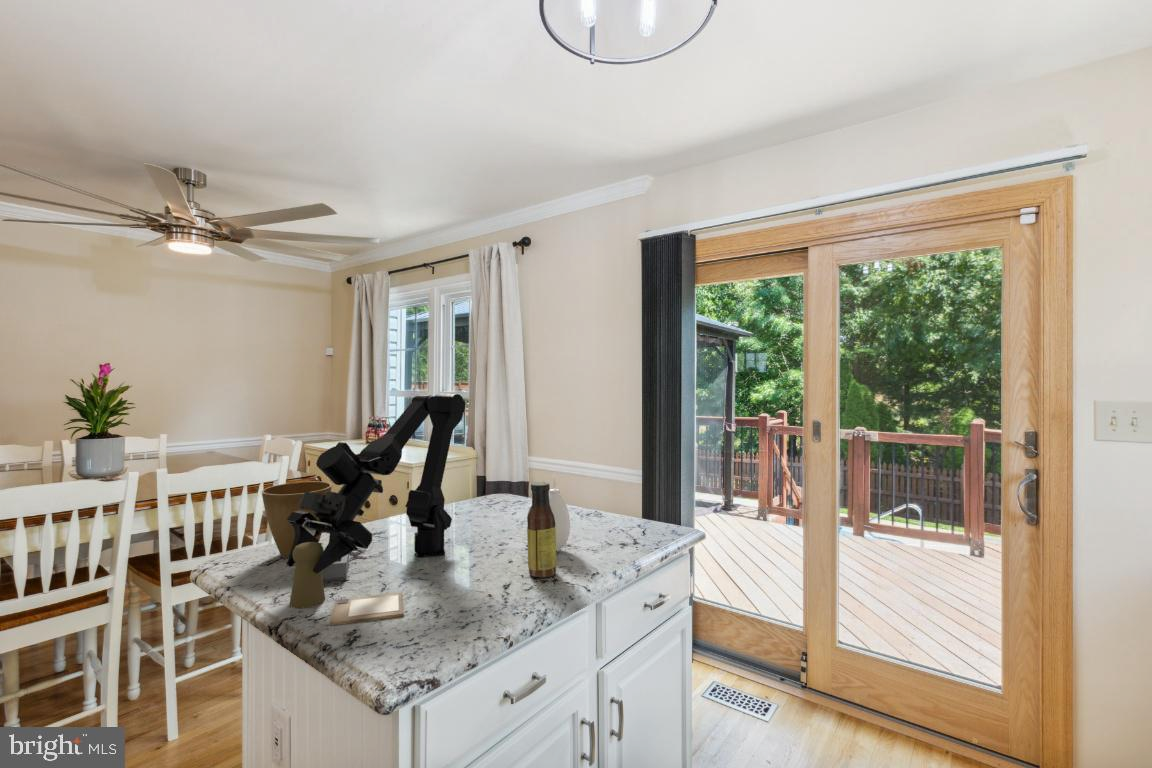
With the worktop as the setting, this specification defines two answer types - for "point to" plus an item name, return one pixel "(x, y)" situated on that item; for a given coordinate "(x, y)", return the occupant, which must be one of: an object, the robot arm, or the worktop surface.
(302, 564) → the cork
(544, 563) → the sauce bottle
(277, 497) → the plant pot
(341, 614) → the tan rectangular board
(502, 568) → the worktop surface
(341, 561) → the button housing
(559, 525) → the white vase
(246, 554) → the worktop surface
